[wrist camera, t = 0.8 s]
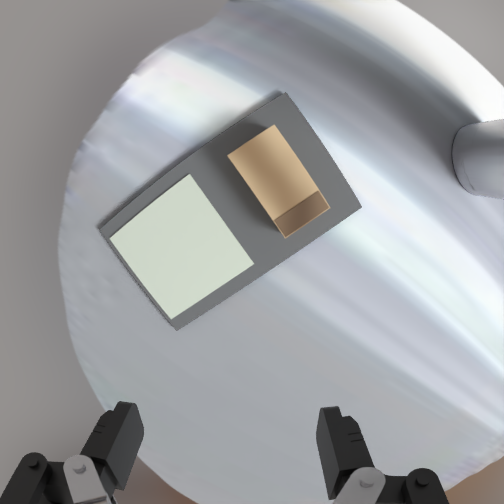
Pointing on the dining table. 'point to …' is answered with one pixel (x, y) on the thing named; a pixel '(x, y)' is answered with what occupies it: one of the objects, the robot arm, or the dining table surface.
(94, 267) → the dining table surface
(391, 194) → the dining table surface
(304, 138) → the mat
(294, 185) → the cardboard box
